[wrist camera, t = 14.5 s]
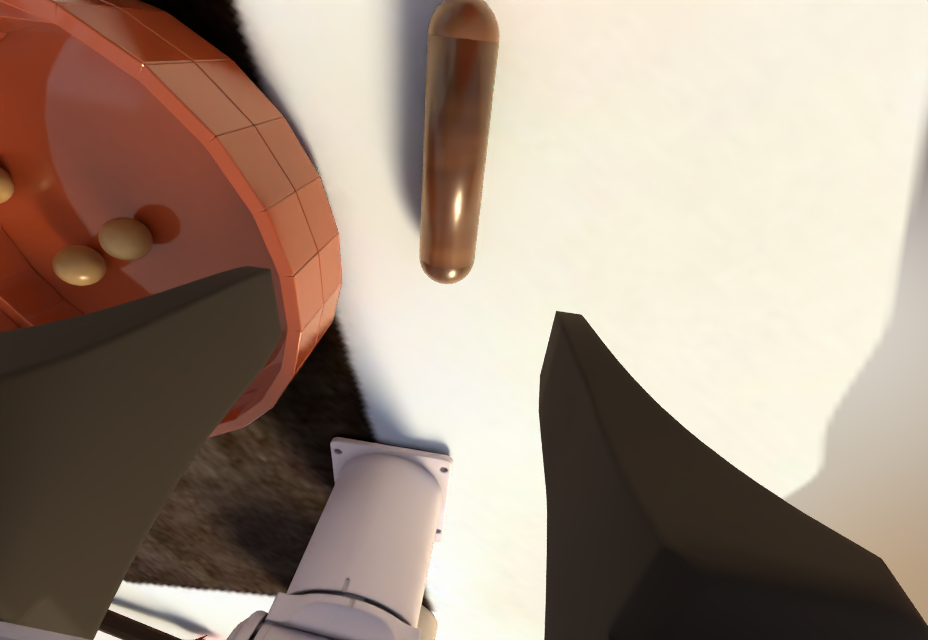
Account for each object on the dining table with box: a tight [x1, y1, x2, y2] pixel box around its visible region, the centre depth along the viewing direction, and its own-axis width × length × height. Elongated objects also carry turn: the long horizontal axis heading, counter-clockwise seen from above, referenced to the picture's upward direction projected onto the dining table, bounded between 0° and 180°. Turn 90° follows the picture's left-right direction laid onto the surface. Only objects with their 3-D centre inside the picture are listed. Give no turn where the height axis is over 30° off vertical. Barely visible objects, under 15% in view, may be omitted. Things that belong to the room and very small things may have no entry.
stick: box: [420, 0, 499, 284], centre depth 17 cm, size 10×2×2 cm, turn 175°
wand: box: [98, 610, 207, 640], centre depth 48 cm, size 4×4×30 cm
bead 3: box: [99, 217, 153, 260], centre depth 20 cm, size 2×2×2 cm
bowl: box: [0, 0, 342, 438], centre depth 19 cm, size 19×19×5 cm
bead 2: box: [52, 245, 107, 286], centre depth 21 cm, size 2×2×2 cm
